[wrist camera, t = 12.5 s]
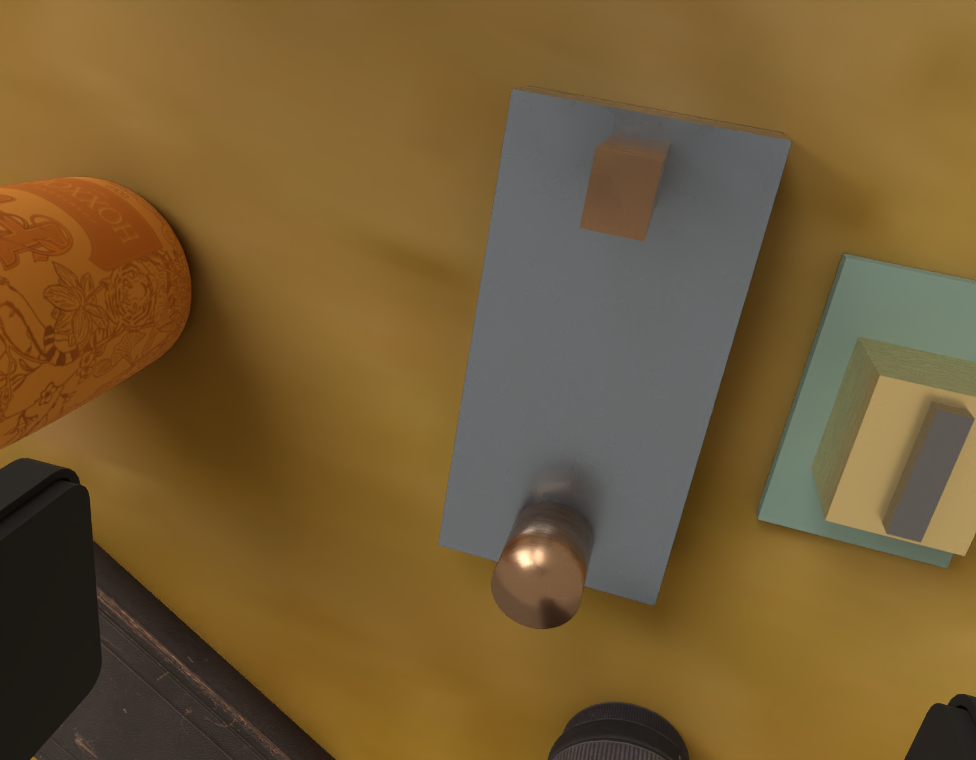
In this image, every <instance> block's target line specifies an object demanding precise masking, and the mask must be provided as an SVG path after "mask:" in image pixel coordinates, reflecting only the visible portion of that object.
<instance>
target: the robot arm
mask: <svg viewBox="0 0 976 760" xmlns="http://www.w3.org/2000/svg"><path fill="white" fill-rule="evenodd" d="M101 666H102V653H101V640H100V627H99V614H98V601H97V588H96V575H95V562H94V549H93V536H92V523H91V510H90V497H89V493H88V490H87V489H86V487H84V486H82V485H80V481H79V477H78V476H77V474H76V473H75V472H74V471H72V470H70V469H68V468H64V467H60V466H56V465H52V464H49V463H45V462H41V461H37V460H33V459H29V458H21V459H18V460H15V461H13V462H11V463H10V464H8V465H6V466H5V467H3V468H2V469H0V760H30V759H31V758H32V757H33V756H34V755H35V754H36V753H37V751H38V750H39V749H40V748H41V747H42V746H43V745H44V744H45V742H46V741H47V740H48V739H49V738H50V737H51V736H52V735H53V733H54V732H55V731H56V730H57V729H58V728H59V727H60V726H61V724H62V723H63V722H64V721H65V720H66V719H67V718H68V717H69V715H70V714H71V713H72V712H73V711H74V710H75V709H76V708H77V706H78V705H79V704H80V703H81V702H82V701H83V700H84V699H85V697H86V696H87V695H88V694H89V693H90V691H91V690H92V689H93V687H94V685H95V683H96V681H97V679H98V677H99V674H100V670H101ZM904 760H976V697H974V696H970V695H966V694H958V695H956V696H955V697H953V698H952V699H951V700H950V702H949V703H948V705H945V704H941V703H936V704H934V705H933V706H931V708H930V709H929V711H928V712H927V714H926V716H925V718H924V720H923V722H922V725H921V727H920V729H919V731H918V733H917V735H916V737H915V739H914V741H913V743H912V745H911V747H910V749H909V751H908V753H907V755H906V757H905V759H904Z"/></svg>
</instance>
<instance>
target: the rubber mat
mask: <svg viewBox="0 0 976 760" xmlns="http://www.w3.org/2000/svg"><path fill="white" fill-rule="evenodd" d="M858 336H859V337H863V338H868V339H872V340H877V341H882V342H886V343H891V344H895V345H900V346H904V347H909V348H913V349H918V350H922V351H927V352H931V353H936V354H940V355H945V356H949V357H954V358H958V359H963V360H968V361H972V362H976V281H975V280H970V279H966V278H961V277H956V276H951V275H946V274H941V273H936V272H932V271H927V270H922V269H917V268H912V267H907V266H902V265H897V264H893V263H888V262H883V261H878V260H873V259H868V258H863V257H859V256H854V255H849V254H844V253H843V255H842V258H841V261H840V264H839V267H838V270H837V273H836V276H835V279H834V282H833V285H832V288H831V291H830V294H829V297H828V300H827V303H826V306H825V309H824V312H823V315H822V318H821V321H820V324H819V327H818V330H817V333H816V336H815V339H814V342H813V345H812V348H811V350H810V353H809V356H808V359H807V362H806V365H805V368H804V371H803V374H802V377H801V380H800V383H799V386H798V389H797V392H796V395H795V398H794V401H793V404H792V407H791V410H790V413H789V416H788V419H787V422H786V425H785V428H784V431H783V434H782V437H781V440H780V443H779V446H778V449H777V452H776V455H775V457H774V460H773V463H772V466H771V469H770V472H769V475H768V478H767V481H766V484H765V487H764V490H763V493H762V496H761V499H760V502H759V505H758V508H757V518H758V520H762V521H766V522H770V523H774V524H777V525H781V526H785V527H789V528H793V529H797V530H801V531H804V532H808V533H812V534H816V535H820V536H824V537H827V538H831V539H835V540H839V541H843V542H847V543H851V544H854V545H858V546H862V547H866V548H870V549H874V550H878V551H881V552H885V553H889V554H893V555H897V556H901V557H905V558H908V559H912V560H916V561H920V562H924V563H928V564H932V565H935V566H939V567H943V568H948V565H949V563H950V561H951V559H952V557H953V554H954V553H950V552H946V551H942V550H938V549H935V548H931V547H927V546H923V545H919V544H915V543H911V542H907V541H903V540H899V539H896V538H892V537H888V536H884V535H880V534H876V533H872V532H868V531H864V530H860V529H857V528H853V527H849V526H845V525H841V524H837V523H833V522H829V521H825V518H824V514H823V510H822V506H821V503H820V499H819V495H818V491H817V487H816V484H815V480H814V476H813V472H812V468H811V466H812V464H813V461H814V458H815V455H816V452H817V450H818V447H819V444H820V441H821V438H822V436H823V433H824V430H825V427H826V425H827V422H828V419H829V416H830V413H831V411H832V408H833V405H834V402H835V399H836V397H837V394H838V391H839V388H840V386H841V383H842V380H843V377H844V374H845V372H846V369H847V366H848V363H849V360H850V358H851V355H852V352H853V349H854V346H855V344H856V341H857V338H858Z"/></svg>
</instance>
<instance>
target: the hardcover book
mask: <svg viewBox="0 0 976 760" xmlns="http://www.w3.org/2000/svg"><path fill="white" fill-rule="evenodd" d="M93 549H94V562H95V575H96V588H97V601H98V614H99V627H100V640H101V653H102V666H101V670H100V674H99V677H98V679H97V681H96V683H95V685H94V687H93V689H92V690H91V691H90V693H89V694H88V695H87V696H86V697H85V699H84V700H83V701H82V702H81V703H80V704H79V705H78V706H77V708H76V709H75V710H74V711H73V712H72V713H71V714H70V715H69V717H68V718H67V719H66V720H65V721H64V722H63V723H62V724H61V726H60V727H59V728H58V729H57V730H56V731H55V732H54V733H53V735H52V736H51V737H50V738H49V739H48V740H47V741H46V742H45V744H44V745H43V746H42V747H41V748H40V749H39V750H38V751H37V753H36V754H35V755H34V757H35V758H36V759H37V760H335V759H334V758H333V757H332V756H331V755H330V754H329V753H327V752H326V751H325V750H324V749H323V748H322V747H321V746H320V745H319V744H317V743H316V742H315V741H314V740H313V739H312V738H311V737H310V736H309V735H308V734H306V733H305V732H304V731H303V730H302V729H301V728H300V727H299V726H298V725H296V724H295V723H294V722H293V721H292V720H291V719H290V718H289V717H288V716H287V715H285V714H284V713H283V712H282V711H281V710H280V709H279V708H278V707H277V706H276V705H274V704H273V703H272V702H271V701H270V700H269V699H268V698H267V697H266V696H264V695H263V694H262V693H261V692H260V691H259V690H258V689H257V688H256V687H255V686H253V685H252V684H251V683H250V682H249V681H248V680H247V679H246V678H245V677H243V676H242V675H241V674H240V673H239V672H238V671H237V670H236V669H235V668H234V667H232V666H231V665H230V664H229V663H228V662H227V661H226V660H225V659H224V658H222V657H221V656H220V655H219V654H218V653H217V652H216V651H215V650H214V649H213V648H211V647H210V646H209V645H208V644H207V643H206V642H205V641H204V640H203V639H201V638H200V637H199V636H198V635H197V634H196V633H195V632H194V631H193V630H192V629H190V628H189V627H188V626H187V625H186V624H185V623H184V622H183V621H182V620H180V619H179V618H178V617H177V616H176V615H175V614H174V613H173V612H172V611H171V610H169V609H168V608H167V607H166V606H165V605H164V604H163V603H162V602H161V601H159V600H158V599H157V598H156V597H155V596H154V595H153V594H152V593H151V592H150V591H148V590H147V589H146V588H145V587H144V586H143V585H142V584H141V583H140V582H138V581H137V580H136V579H135V578H134V577H133V576H132V575H131V574H130V573H129V572H127V571H126V570H125V569H124V568H123V567H122V566H121V565H120V564H119V563H117V562H116V561H115V560H114V559H113V558H112V557H111V556H110V555H109V554H108V553H106V552H105V551H104V550H103V549H102V548H101V547H100V546H99V545H98V544H96V543H95V542H94V541H93Z"/></svg>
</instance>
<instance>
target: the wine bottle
mask: <svg viewBox="0 0 976 760" xmlns="http://www.w3.org/2000/svg"><path fill="white" fill-rule="evenodd" d="M191 299H192V287H191V277H190V271H189V267H188V263H187V260H186V256H185V253H184V251H183V249H182V246H181V244H180V242H179V240H178V238H177V237H176V235H175V233H174V232H173V230H172V229H171V227H170V225H169V224H168V223H167V222H166V220H165V219H164V218H163V217H162V216H161V215H160V213H159V212H158V211H157V210H156V209H155V208H154V207H153V206H152V205H150V204H149V203H148V202H147V201H146V200H145V199H143V198H142V197H141V196H139V195H138V194H136V193H135V192H133V191H131V190H130V189H128V188H126V187H124V186H122V185H119V184H116V183H114V182H111V181H107V180H103V179H98V178H91V177H67V178H57V179H48V180H40V181H33V182H26V183H19V184H12V185H5V186H0V449H2V448H4V447H6V446H8V445H11V444H13V443H15V442H17V441H19V440H20V439H22V438H24V437H26V436H28V435H30V434H32V433H34V432H36V431H37V430H39V429H41V428H43V427H45V426H47V425H48V424H50V423H52V422H54V421H56V420H57V419H59V418H61V417H63V416H64V415H66V414H68V413H70V412H71V411H73V410H75V409H77V408H78V407H80V406H82V405H83V404H85V403H87V402H89V401H90V400H92V399H94V398H95V397H97V396H99V395H101V394H102V393H104V392H106V391H107V390H109V389H111V388H112V387H114V386H116V385H117V384H119V383H121V382H122V381H124V380H126V379H127V378H129V377H131V376H132V375H134V374H135V373H137V372H139V371H140V370H142V369H143V368H145V367H146V366H148V365H149V364H151V363H152V362H154V361H155V360H157V359H158V358H160V357H161V356H162V355H163V354H165V353H166V352H167V351H168V350H169V349H170V348H171V347H172V346H173V344H174V343H175V342H176V341H177V339H178V338H179V336H180V335H181V333H182V331H183V329H184V327H185V325H186V322H187V320H188V316H189V312H190V307H191Z"/></svg>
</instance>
